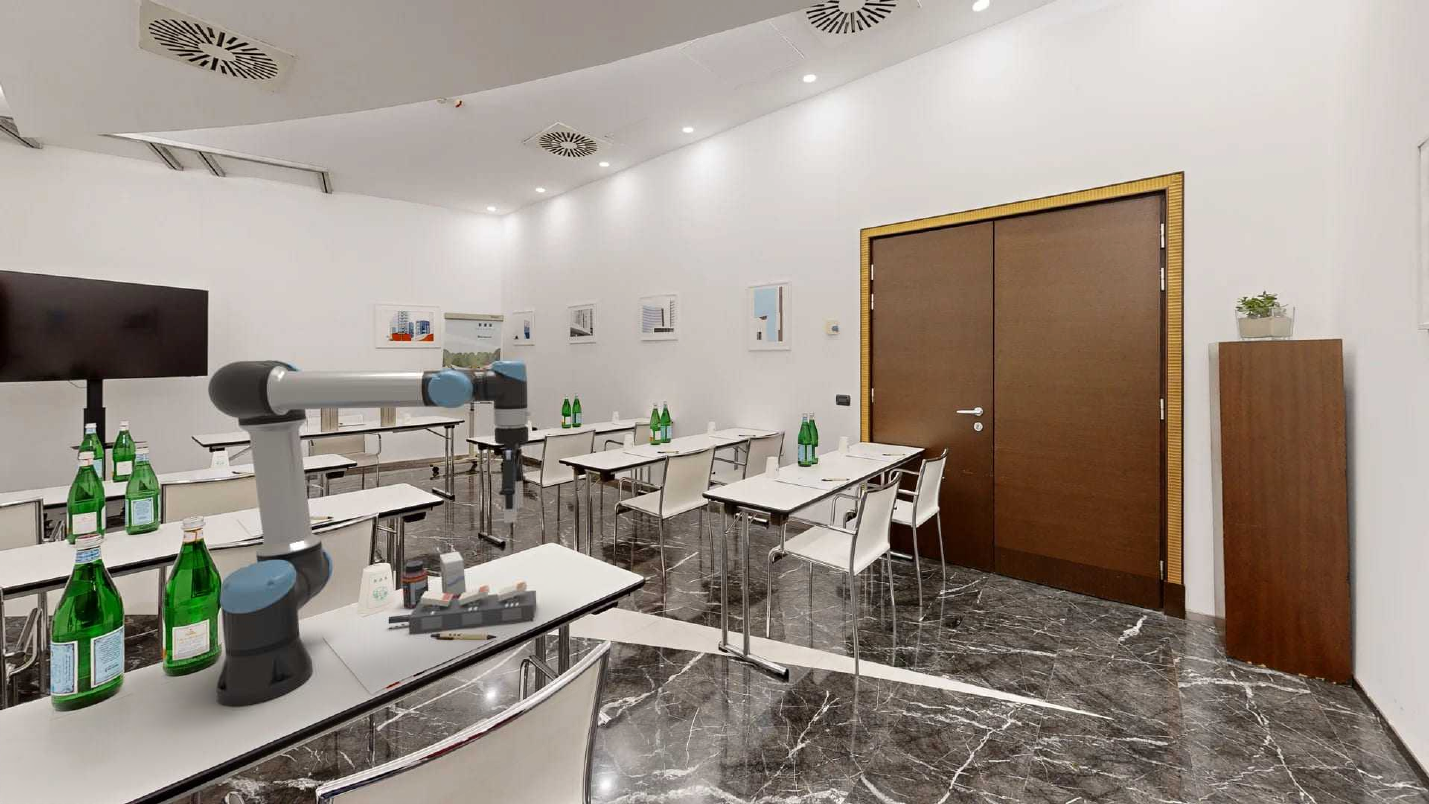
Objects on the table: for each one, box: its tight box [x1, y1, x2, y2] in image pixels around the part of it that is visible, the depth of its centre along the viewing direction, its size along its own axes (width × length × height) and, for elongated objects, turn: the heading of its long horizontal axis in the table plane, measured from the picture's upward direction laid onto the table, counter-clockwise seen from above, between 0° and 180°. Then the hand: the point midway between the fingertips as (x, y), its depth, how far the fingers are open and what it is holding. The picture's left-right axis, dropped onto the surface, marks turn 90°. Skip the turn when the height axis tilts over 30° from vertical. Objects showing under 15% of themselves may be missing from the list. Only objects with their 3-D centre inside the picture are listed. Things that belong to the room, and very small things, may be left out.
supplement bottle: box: [401, 560, 429, 610], centre depth 150 cm, size 6×6×11 cm
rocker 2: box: [459, 584, 490, 605], centre depth 141 cm, size 6×4×2 cm, turn 102°
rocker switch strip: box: [388, 590, 537, 635], centre depth 141 cm, size 34×9×5 cm, turn 103°
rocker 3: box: [497, 581, 528, 601], centre depth 143 cm, size 6×4×2 cm, turn 102°
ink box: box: [439, 551, 467, 599], centre depth 153 cm, size 9×5×12 cm, turn 34°
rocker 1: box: [420, 590, 453, 607], centre depth 139 cm, size 6×4×2 cm, turn 104°
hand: (514, 514), depth 136 cm, fingers open, 13 cm apart
